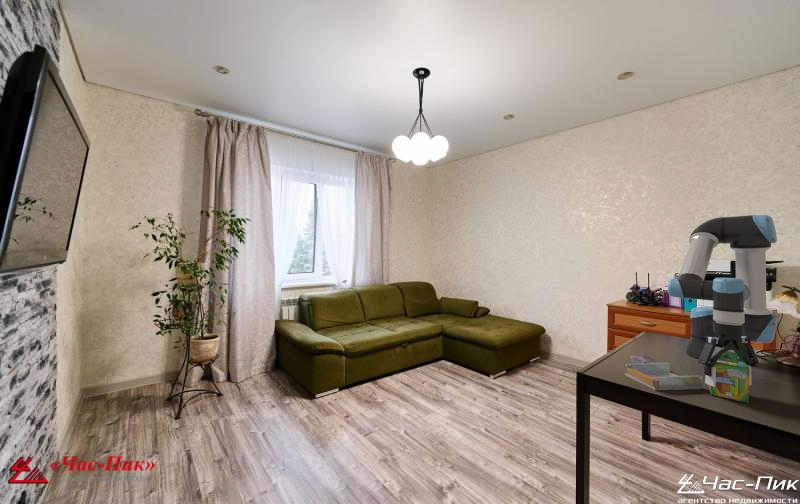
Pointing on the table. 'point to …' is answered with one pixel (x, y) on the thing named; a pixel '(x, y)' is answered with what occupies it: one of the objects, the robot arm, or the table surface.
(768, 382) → the table surface
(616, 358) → the table surface
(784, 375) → the table surface
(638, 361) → the rock
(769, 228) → the robot arm
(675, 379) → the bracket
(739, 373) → the chalk box
